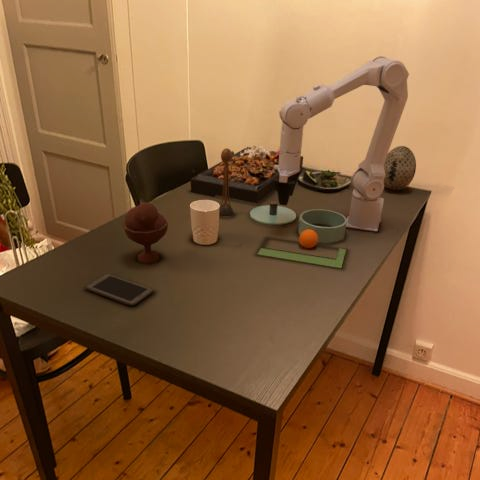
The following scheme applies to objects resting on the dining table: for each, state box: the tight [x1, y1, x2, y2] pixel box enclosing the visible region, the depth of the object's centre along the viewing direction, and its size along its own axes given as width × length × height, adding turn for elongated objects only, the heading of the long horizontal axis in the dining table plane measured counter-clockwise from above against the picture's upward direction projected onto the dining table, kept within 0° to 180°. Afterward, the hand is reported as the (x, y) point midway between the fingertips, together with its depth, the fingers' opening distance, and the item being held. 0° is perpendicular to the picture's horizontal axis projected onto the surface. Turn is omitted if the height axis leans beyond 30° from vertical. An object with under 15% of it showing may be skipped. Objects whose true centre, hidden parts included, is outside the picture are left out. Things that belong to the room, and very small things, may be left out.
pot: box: [297, 208, 347, 244], centre depth 134 cm, size 13×13×5 cm
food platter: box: [190, 144, 304, 204], centre depth 170 cm, size 45×25×10 cm, turn 155°
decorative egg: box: [384, 145, 417, 192], centre depth 164 cm, size 12×12×15 cm
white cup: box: [189, 199, 221, 246], centre depth 127 cm, size 8×8×10 cm
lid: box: [249, 200, 297, 226], centre depth 143 cm, size 14×14×5 cm
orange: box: [298, 229, 319, 249], centre depth 126 cm, size 5×5×5 cm
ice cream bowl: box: [122, 201, 169, 264], centre depth 116 cm, size 11×11×15 cm
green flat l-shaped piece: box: [256, 246, 347, 270], centre depth 125 cm, size 22×11×1 cm, turn 73°
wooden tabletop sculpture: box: [219, 147, 235, 217], centre depth 140 cm, size 6×5×20 cm
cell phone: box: [85, 273, 153, 307], centre depth 107 cm, size 7×14×1 cm, turn 61°
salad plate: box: [297, 169, 351, 194], centre depth 171 cm, size 19×18×5 cm
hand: (285, 199), depth 133 cm, fingers open, 7 cm apart
